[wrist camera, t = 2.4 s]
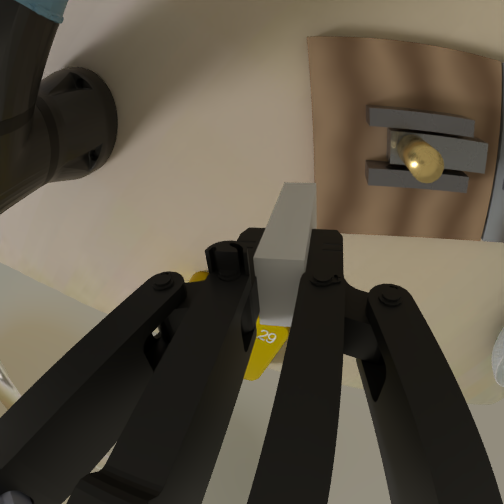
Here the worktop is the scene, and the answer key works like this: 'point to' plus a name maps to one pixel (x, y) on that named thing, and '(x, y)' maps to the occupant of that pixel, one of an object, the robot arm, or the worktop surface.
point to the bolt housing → (416, 120)
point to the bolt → (435, 152)
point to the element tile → (259, 342)
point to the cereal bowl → (498, 359)
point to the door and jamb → (375, 138)
